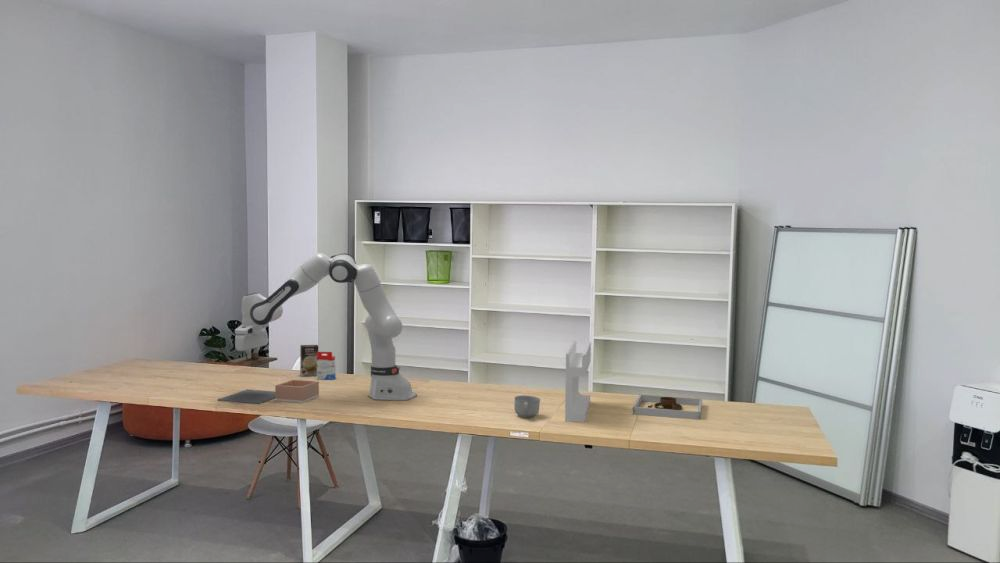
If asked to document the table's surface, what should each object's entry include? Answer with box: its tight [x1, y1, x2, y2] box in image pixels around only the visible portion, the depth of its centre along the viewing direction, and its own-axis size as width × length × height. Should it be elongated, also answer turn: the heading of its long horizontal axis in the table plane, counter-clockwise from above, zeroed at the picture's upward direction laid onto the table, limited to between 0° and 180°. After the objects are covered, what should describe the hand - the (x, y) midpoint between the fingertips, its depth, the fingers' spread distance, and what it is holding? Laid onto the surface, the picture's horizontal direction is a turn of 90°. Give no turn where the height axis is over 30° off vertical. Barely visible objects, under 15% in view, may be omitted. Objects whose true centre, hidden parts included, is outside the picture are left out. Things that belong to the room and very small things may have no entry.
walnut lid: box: [226, 352, 278, 367], centre depth 344 cm, size 16×16×4 cm
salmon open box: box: [274, 379, 320, 404], centre depth 343 cm, size 14×14×7 cm
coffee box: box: [299, 344, 319, 378], centre depth 395 cm, size 9×6×16 cm
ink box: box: [316, 351, 336, 381], centre depth 387 cm, size 8×5×15 cm, turn 84°
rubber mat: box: [217, 388, 276, 405], centre depth 346 cm, size 22×22×1 cm
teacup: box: [513, 394, 541, 419], centre depth 312 cm, size 14×11×8 cm
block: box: [564, 340, 592, 423], centre depth 321 cm, size 35×8×28 cm, turn 170°
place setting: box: [647, 396, 683, 410], centre depth 326 cm, size 18×20×6 cm
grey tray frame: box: [632, 393, 703, 420], centre depth 327 cm, size 28×26×3 cm
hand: (252, 357), depth 344 cm, fingers closed on walnut lid, 2 cm apart
